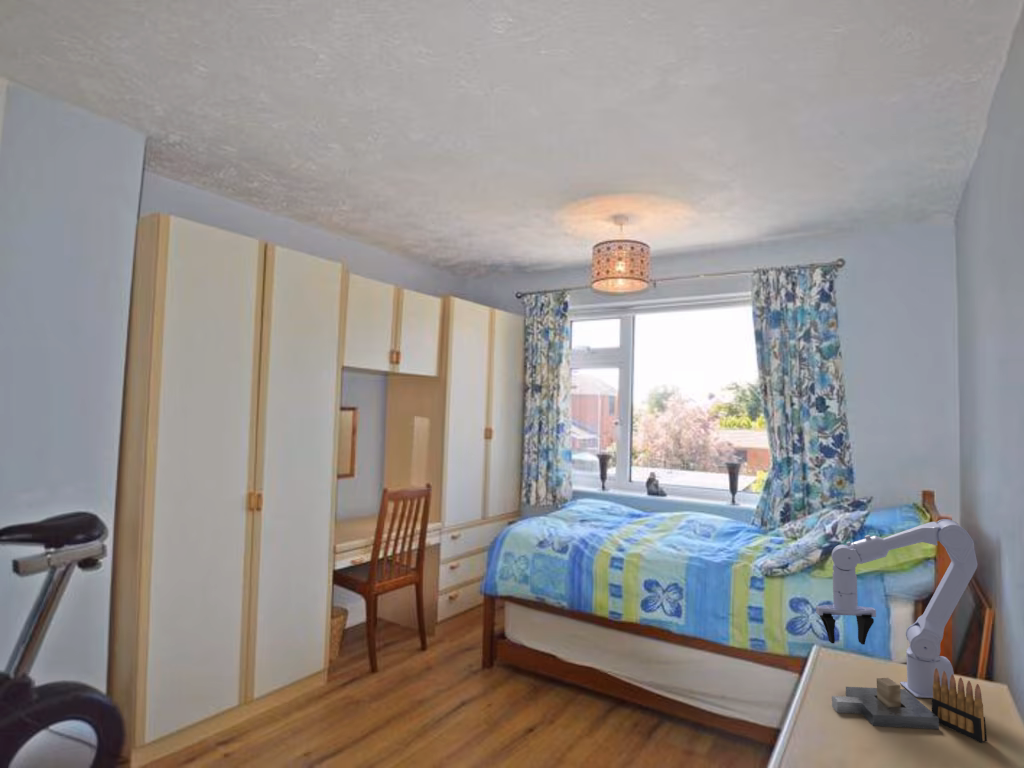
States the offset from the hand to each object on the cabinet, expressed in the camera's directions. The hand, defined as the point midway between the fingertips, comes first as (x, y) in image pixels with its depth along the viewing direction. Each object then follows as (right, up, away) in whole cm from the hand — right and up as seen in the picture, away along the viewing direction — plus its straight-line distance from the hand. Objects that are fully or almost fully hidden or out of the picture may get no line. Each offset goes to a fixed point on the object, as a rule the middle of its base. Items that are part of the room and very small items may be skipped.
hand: (846, 642), depth 161 cm
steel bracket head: (-3, -9, -18) cm, 20 cm away
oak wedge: (0, -9, -18) cm, 20 cm away
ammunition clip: (+10, -8, -27) cm, 30 cm away
